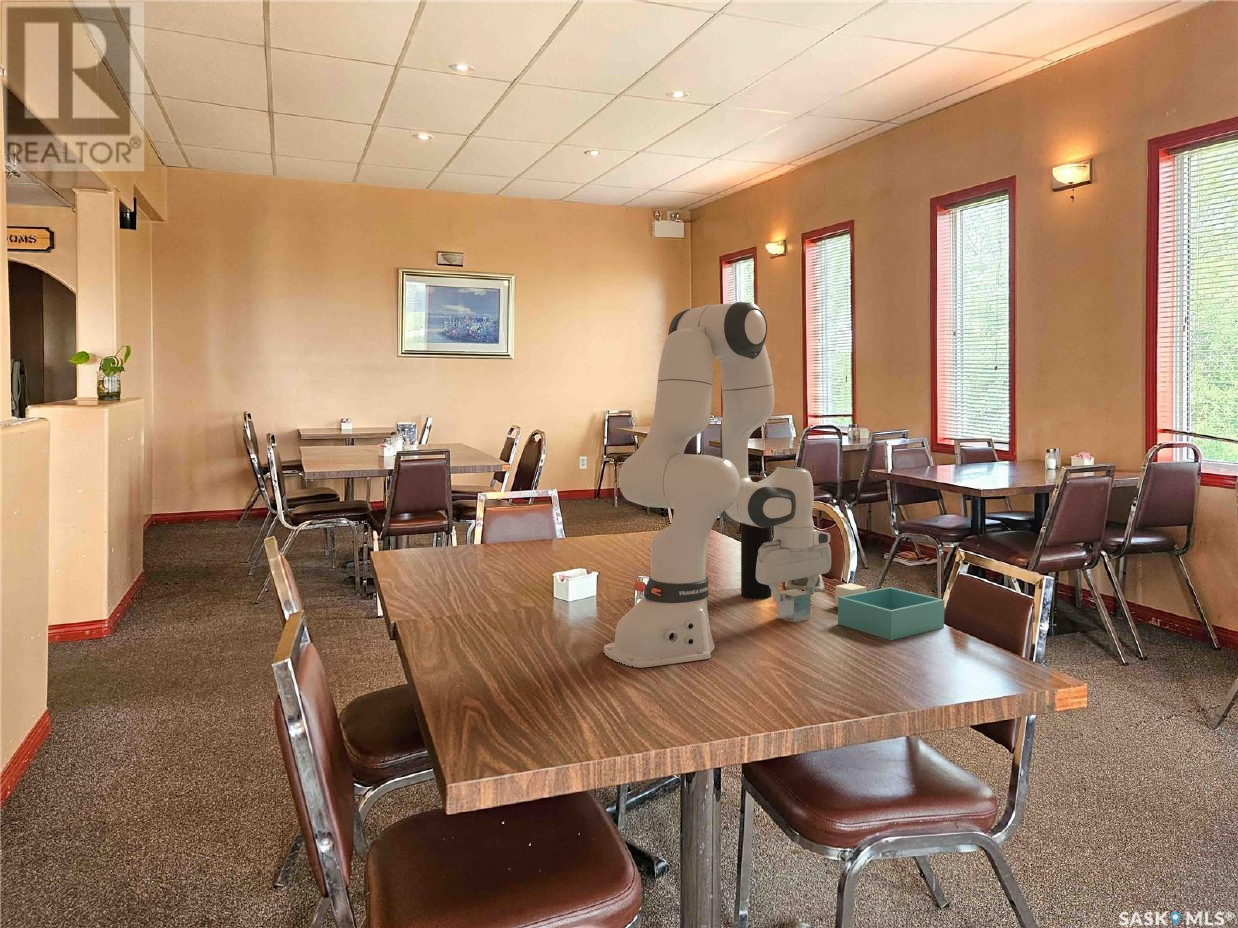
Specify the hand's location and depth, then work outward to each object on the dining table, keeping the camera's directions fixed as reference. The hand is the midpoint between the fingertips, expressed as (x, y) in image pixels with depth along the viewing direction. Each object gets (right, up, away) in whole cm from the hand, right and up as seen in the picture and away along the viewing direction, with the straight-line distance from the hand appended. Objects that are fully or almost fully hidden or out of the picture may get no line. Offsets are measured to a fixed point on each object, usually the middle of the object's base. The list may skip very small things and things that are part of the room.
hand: (793, 597), depth 189 cm
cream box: (+15, -4, +9) cm, 18 cm away
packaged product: (+10, -2, +34) cm, 36 cm away
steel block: (0, -5, 0) cm, 5 cm away
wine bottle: (-5, -3, +21) cm, 22 cm away
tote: (+19, -5, -7) cm, 21 cm away
